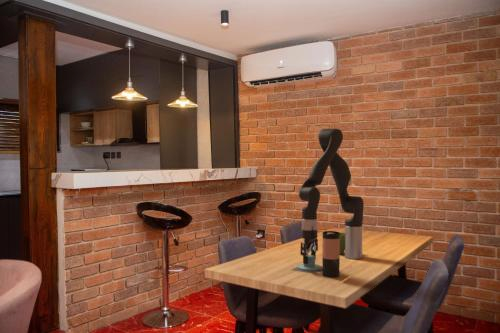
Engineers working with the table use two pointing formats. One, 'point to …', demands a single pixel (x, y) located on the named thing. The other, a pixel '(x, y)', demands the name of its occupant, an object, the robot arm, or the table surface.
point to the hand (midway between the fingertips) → (309, 262)
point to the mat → (307, 271)
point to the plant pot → (342, 242)
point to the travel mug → (331, 254)
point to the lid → (310, 265)
